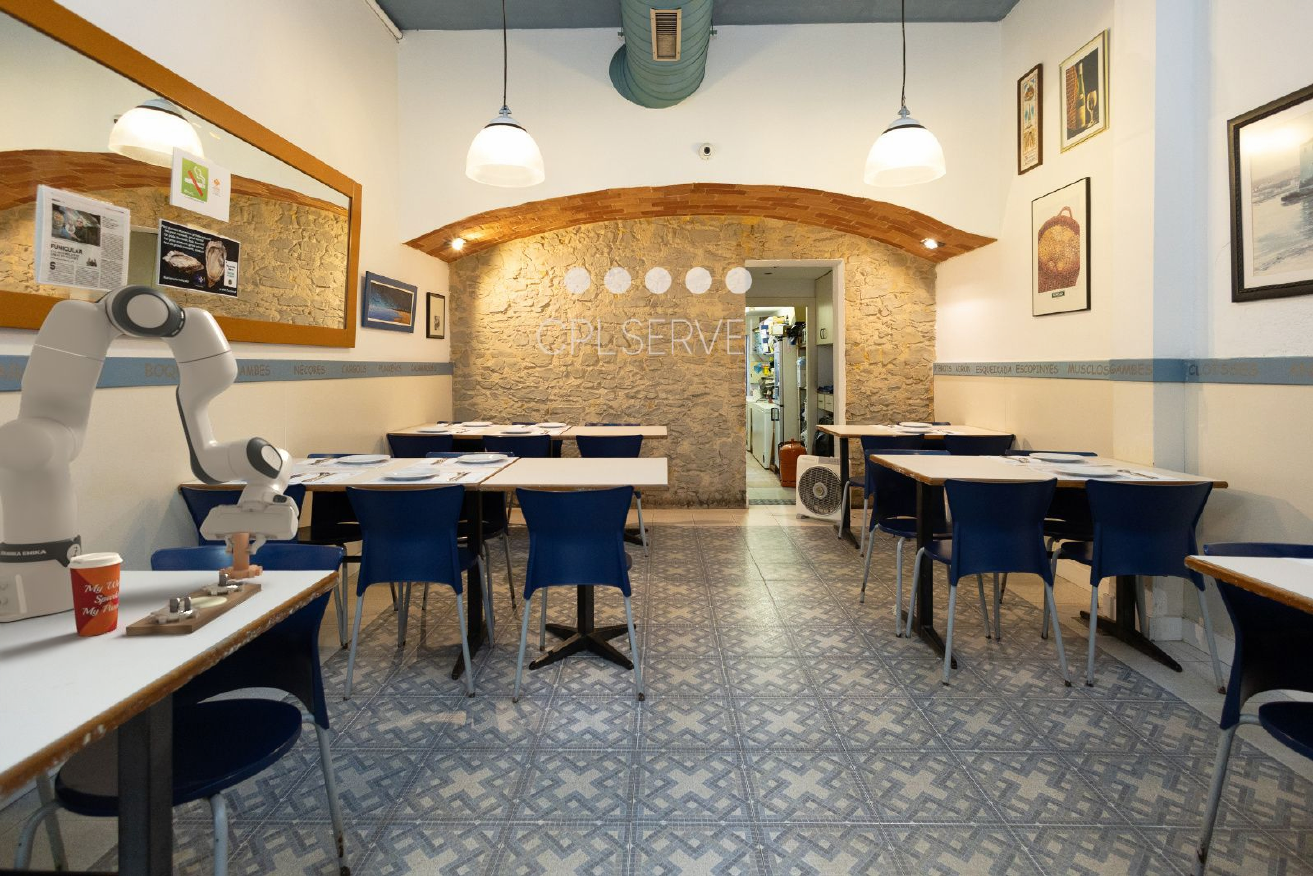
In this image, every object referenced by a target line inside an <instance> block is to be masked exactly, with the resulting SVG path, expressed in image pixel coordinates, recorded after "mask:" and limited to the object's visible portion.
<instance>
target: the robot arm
mask: <svg viewBox="0 0 1313 876" xmlns="http://www.w3.org/2000/svg"><path fill="white" fill-rule="evenodd" d="M124 335H125V336H129V337H134V338H160V339H162V341H163V342H165V343H166V345H167V346H168V348H169V349H171V353H172V354H173V358H174V359H175V362H176V364H177V367H178V369H179V370H178V371H179V376H180V377H179V384H177V387H176V389H175V399H176V405H177V408H178V409H177V410H178V413H179V418H180V420H181V425H182V428H183V432H184V436H185V440H186V443H187V446H188V450H189V451H188V452H189V463H190V464H189V465H190V469H191V471H192V474H193V476H194V477H195V478H196V479H197V480H198V481H200V482H202V483H203V484H205V485H208V486H212V487H213V486H217V485H222V484H225V483H230V482H232V481H238V480H244V481H245V482H246V486H245V487H244V488H243V490H242V492H241V495H240V497H239V499H238V502H237V504H219V505H218V506H215V507H212V508H211V509H210V510H209V513H208V515H207V516H206V517H205V519H204V520H203V522H202V524H201V526H200V528H199V532H200V533H201V536H203V538H204V539H205V540H207V541H225V544H226V547H225V548H224V553H225V555H233V533H236V532H249V541H252V540H253V541H254V542H253V543H252V544H249V545H248V548H247V549H246V552H247V554H249V555H256V554H257V551H258V550H259V548H261V547H262V546H263V545H265V543H266V542H267V541H272V540H273V541H278V540H279V541H287V540H288V541H290V540H292V539H294V538H295V536H296V534H297V532H298V527H299V520H298V517H299V514H300V513H299V508H298V506H297V504H296V501H295V500H294V499H293V498H292V496H288V495H285V494H284V492H285V491H286V490H287V489H288V485H289V483H290V481H291V477H292V473H293V466H294V461H293V457H292V455H290V453H289V452H287V451H286V450H285V449H283V448H280V447H277V446H275V447H274V446H273V445H272V444H271V443H270V442H269V441H268V440H266V439H264V438H262V437H259V436H255V437H246V438H241V439H236V440H231V441H226V442H219V441H217V440H216V439H215V436H214V433H213V430H212V429H213V428H212V424H211V421H210V416H209V414H208V412H209V411H208V407H209V404H210V403H211V401H212V400H213V399H214V398H216V397H217V396H219V395H221V394H223V392H225V391H227V390H228V389H229V388H230V387H231V386H232V385H233V384H234V383H235V380H236V378H237V376H238V372H239V371H238V363H237V360H236V357H235V356H234V353H233V350H232V348H231V346H230V343H229V342H228V340H227V338H226V336H225V334H224V332H223V330H222V328H221V327H220V325H219V324H218V322H217V321H216V319H215V318H214V316H213V315H212V314H211V313H210V312H209V311H207V309H203V308H200V307H195V306H194V307H192V306H191V307H182V306H181V305H179V304H178V303H177V302H176V301H174V300H173V299H172V298H171V297H169V296H168V295H167V294H165V293H164V292H162V291H161V290H159V289H157V288H155V287H152V286H148V285H140V284H126V285H122V286H120V287H119V286H118V287H117V288H114V289H111V290H110V291H108V292H107V293H105V294H104V295H103V296H102V297H100V298H99V299H97V300H96V301H94V302H92V301H91V302H89V301H87V300H81V299H65V300H64V299H63V300H61V301H59V302H56V303H55V304H54V305H53V306H52V308H51V309H50V311H49V313H48V314H47V316H46V318H45V319H44V321H43V322H42V325H41V326H40V329H39V331H38V333H37V335H36V338H35V340H34V344H33V346H32V349H31V352H30V355H29V358H28V360H27V363H26V366H25V370H24V372H23V375H22V379H21V380H20V381H21V382H20V383H21V384H20V386H21V394H20V395H21V396H20V404H19V409H18V410H19V411H18V415H17V418H16V419H13V420H10V421H7V422H6V423H3V424H2V425H1V426H0V499H1V509H2V530H3V531H2V534H3V541H1V542H0V623H7V622H8V623H9V622H13V621H19V620H23V619H24V620H25V619H27V618H33V617H38V616H45V615H51V614H55V613H56V614H57V613H61V612H65V611H69V610H74V603H73V593H72V583H71V574H70V568H68V567H67V566H68V564H70V560H71V558H73V557H76V556H80V555H82V552H83V551H82V538H81V537H82V536H81V535H80V534H79V525H78V524H79V523H78V522H79V521H78V518H79V516H78V498H77V494H76V493H75V489H74V485H73V481H72V476H71V475H72V474H71V469H70V463H72V462H73V461H74V460H76V458H77V457H79V455H80V454H81V452H82V449H83V445H84V441H85V438H86V437H85V436H86V432H87V428H88V424H89V420H90V419H89V418H90V413H91V407H92V401H93V397H94V394H95V391H96V387H97V384H98V381H99V379H100V375H101V372H102V369H103V366H104V364H105V360H106V357H107V354H108V349H109V347H110V346H111V344H112V342H113V341H114V340H116V338H117V337H119V336H124Z"/></svg>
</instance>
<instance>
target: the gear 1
mask: <svg viewBox="0 0 1313 876" xmlns="http://www.w3.org/2000/svg"><path fill="white" fill-rule="evenodd" d="M183 598H184V605H183V606H180V599H181V597H171V598H169V605H170V607H166V606H165V608H164V607H163V608H164V609H163V608H161V609H162V610H161V609H159V610H153V611H151V612H150V613H149V615H148V616H149V622H150V623H154V622H158V623H159V624H167V623H170V622H183V621H186V619H190V618H196V617H198V616H199V613H200V606H194V607H193V606H191V597H186V596H184V597H183Z"/></svg>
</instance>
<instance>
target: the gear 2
mask: <svg viewBox="0 0 1313 876" xmlns="http://www.w3.org/2000/svg"><path fill="white" fill-rule="evenodd" d="M245 584H246V583H245V581H241V580H240V581H236V580H228V574H219V573H218V581H216V582H215V581H214V582H213V583H211V584H205V585H203V586H202V588H201V589H202V595H211V596H218V595H223V594H228V595H229V594H234V592H237V591H243V590H244V587H245Z"/></svg>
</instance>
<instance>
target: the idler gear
mask: <svg viewBox="0 0 1313 876" xmlns="http://www.w3.org/2000/svg"><path fill="white" fill-rule="evenodd" d="M232 545H233V554H232V566H228V567H227V568H222V569H219V571H218V575H219V574H228V581H232V580H235V581H238V580H239V581H241V580H243V579H250V580H251V579H254V578H256V577H260V576H262V574H263V566H262V565H260V566H258V564H251V565H250V554H247V552H246V549H247V548H248V545H250V540H249V532H236V533H233V543H232Z"/></svg>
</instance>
